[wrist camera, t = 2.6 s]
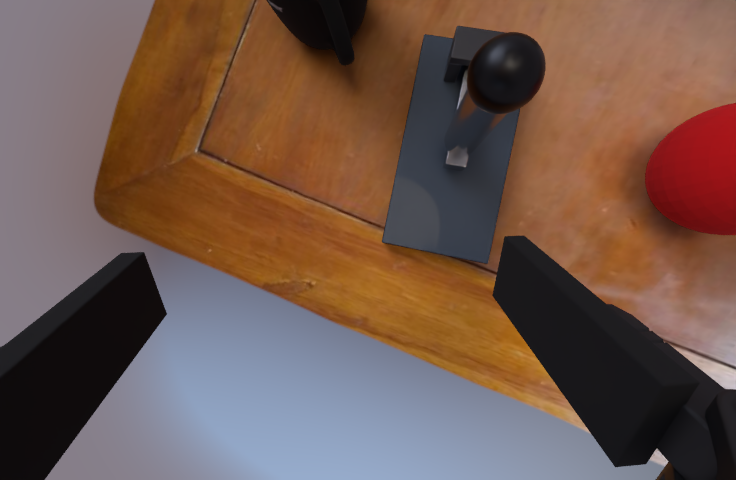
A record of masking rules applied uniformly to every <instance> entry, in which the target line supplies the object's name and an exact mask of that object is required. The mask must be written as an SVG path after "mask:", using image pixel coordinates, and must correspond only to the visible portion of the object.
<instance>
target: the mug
mask: <svg viewBox="0 0 736 480" xmlns="http://www.w3.org/2000/svg"><path fill="white" fill-rule="evenodd" d="M267 2H268V3H269V5H270V6H271V7H272V9H273V10H274V12H275V13H276V14H277V16H278V17H279V18H280V20H281V21H282V22H283V23H284V25H285V26H286V27H287V28H288V29H289V30H290V31H291V32H292V33H293V34H294V35H295V36H296V37H297V38H298V39H299V40H300V41H302V42H303V43H305V44H307V45H309V46H311V47H314V48H317V49H334V51H335V53H336V55H337V58H338V60H339V62H340V64H341V65H349V64H351V63H352V62H353V61H354V51H353V46H352V43H351V38H352V37H353V36H354V35H355V33H356V32H357V30H358V29H359V27H360V25H361V23H362V20H363V17H364V14H365V10H366V4H367V0H267Z"/></svg>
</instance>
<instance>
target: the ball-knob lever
mask: <svg viewBox="0 0 736 480" xmlns="http://www.w3.org/2000/svg"><path fill="white" fill-rule="evenodd" d="M544 75H545V57H544V53H543V51H542V49H541V47H540V46H539V44H538V43H537V42H536V41H535V40H534V39H533V38H531V37H530V36H528V35H526V34H523V33H517V32H509V33H503V34H500V35H498V36H495V37H493V38H492V39H490V40H488V41H487V42H486V43H485V44H483V45H482V46H481V47H480V48H479V50H478V51H477V52H476V53H475V55H474V57H473V58H472V60H471V62H470V65H469V66H465V65H464V67H463V71H462V76H461V81H460V86H459V91H458V96H457V101H456V105H455V110H454V115H453V119H452V121H451V123H450V125H449V127H448V129H447V132H446V134H445V137H444V143H445V146H446V148H447V149H446V154H445V159H444V164H443V168H445V169H450V170H456V171H463V170H464V169H465V168H466V166H467V161H468V156H469V154H471V153H472V152H473V151H474V150H475V149H476V148H477V147H478V146H479V145H480V144H481V142H482V141H483V140H484V139H485V138H486V137H487V136H488V135H489V133H490V132H491V131H492V130H493V129H494V128H495V127H496V126H497V124H498V123H499V122H500V121H501V120H502V119H503V118H504V117H505V116H506V114H507V113H510V112H513V111H515V110H517V109H519V108H521V107H523V106H524V105H525V104H527V103H528V102H529V101H530V100H531V99H532V98H533V97H534V95H535V94H536V93H537V92H538V90H539V88H540V86H541V84H542V82H543V79H544Z"/></svg>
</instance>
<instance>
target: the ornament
mask: <svg viewBox="0 0 736 480" xmlns="http://www.w3.org/2000/svg"><path fill="white" fill-rule="evenodd" d="M645 184H646V189H647V193H648V195H649V197H650V200H651V201H652V203H653V204H654V206H655V207H656V208H657V209H658V210H659V211H660V212H661V213H662V214H663V215H664V216H666V217H667V218H668V219H670V220H672V221H673V222H675V223H676V224H678V225H681V226H683V227H686V228H688V229H692V230H695V231H698V232H703V233H709V234H718V235H736V103H733V104H728V105H724V106H720V107H717V108H714V109H711V110H708V111H706V112H703V113H701V114H699V115H696V116H695V117H693V118H691V119H689V120H687V121H685V122H684V123H682V124H681V125H679V126H678V127H676V128H675V129H674V130H673V131H672V132H670V133H669V134H668V135H667V136H666V137H665V138H664V139H663V140H662V141H661V142H660V143H659V145H658V146H657V148H656V149H655V150H654V152H653V154H652V155H651V157H650V160H649V162H648V164H647V168H646V173H645Z"/></svg>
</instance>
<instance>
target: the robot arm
mask: <svg viewBox="0 0 736 480" xmlns="http://www.w3.org/2000/svg"><path fill="white" fill-rule="evenodd" d="M493 297H494V298H495V300H496V301H497V303H498V304H499V305H500V307H501V308H502V310H503V311H504V312H505V314H506V315H507V317H508V318H509V319H510V321H511V322H512V324H513V325H514V326H515V328H516V329H517V331H518V332H519V333H520V335H521V336H522V337H523V339H524V340H525V342H526V343H527V344H528V346H529V347H530V349H531V350H532V351H533V353H534V354H535V356H536V357H537V358H538V360H539V361H540V363H541V364H542V365H543V367H544V368H545V370H546V371H547V372H548V374H549V375H550V377H551V378H552V379H553V381H554V382H555V384H556V385H557V386H558V388H559V389H560V391H561V392H562V393H563V395H564V396H565V398H566V399H567V400H568V402H569V403H570V405H571V406H572V407H573V409H574V410H575V412H576V413H577V414H578V416H579V417H580V419H581V420H582V421H583V423H584V424H585V425H586V427H587V428H588V430H589V431H590V432H591V434H592V435H593V437H594V438H595V439H596V441H597V442H598V444H599V445H600V446H601V448H602V449H603V451H604V452H605V453H606V455H607V456H608V458H609V459H610V460H611V462H612V463H613V465H614V466H615V467H621V466H631V465H641V464H646V463H647V462H648V460H649V459H650V457H651V456H652V454H653V453H654V451H655V450H656V448H657V449H658V450H659V451H660V452H661V453H662V454H663V455H664V457H665V458H666V459H667V460H668V461H669V462H668V463H667V465H666V466H665V468H664V469H663V470H662V472H661V473H660V475H659V476H658V477H657V479H656V480H736V390H733V389H724V388H723V387H722V386H720V385H719V384H718V383H717V382H715V381H714V380H713V379H712V378H710V377H709V376H708V375H707V374H705V373H704V372H703V371H702V370H700V369H699V368H698V367H697V366H695V365H694V364H693V363H692V362H690V361H689V360H688V359H687V358H685V357H684V356H683V355H682V354H680V353H679V352H678V351H677V350H675V349H674V348H673V347H672V346H670V345H669V344H668V343H664V342H663V339H662V338H660V337H659V336H658V335H656V334H655V333H654V332H653V331H649V328H648V327H646V326H645V325H644V324H643V323H641V322H640V321H639V320H638V319H636V318H635V317H634V316H633V315H631V314H629V313H627V312H625V311H623V310H622V309H620V308H618V307H616V306H614V305H612V304H605V303H604V302H603V301H602V300H601V299H599V298H598V297H597V296H596V295H595V294H593V293H592V292H591V291H590V290H589V289H587V288H586V287H585V286H584V285H583V284H581V283H580V282H579V281H578V280H577V279H575V278H574V277H573V276H572V275H571V274H569V273H568V272H567V271H566V270H565V269H563V268H562V267H561V266H560V265H559V264H557V263H556V262H555V261H554V260H553V259H551V258H550V257H549V256H548V255H547V254H545V253H544V252H543V251H542V250H541V249H539V248H538V247H537V246H536V245H535V244H533V243H532V242H531V241H530V240H529V239H527V238H526V237H525V236H505V238H504V242H503V247H502V252H501V257H500V262H499V267H498V271H497V276H496V281H495V286H494V291H493ZM166 315H167V313H166V310H165V308H164V305H163V303H162V300H161V297H160V294H159V291H158V289H157V286H156V283H155V281H154V278H153V275H152V272H151V270H150V267H149V264H148V262H147V259H146V256H145V254H144V252H137V253H121V254H120V255H118V256H117V257H116V258H114V259H113V260H112V261H111V262H110V263H108V264H107V265H106V266H104V267H103V268H102V269H101V270H99V271H98V272H97V273H96V274H94V275H93V276H92V277H90V278H89V279H88V280H87V281H85V282H84V283H83V284H82V285H80V286H79V287H78V288H77V289H75V290H74V291H73V292H71V293H70V294H69V295H68V296H66V297H65V298H64V299H63V300H61V301H60V302H59V303H57V304H56V305H55V306H54V307H52V308H51V309H50V310H49V311H47V312H46V313H45V314H44V315H42V316H41V317H40V318H39V319H37V320H36V321H35V322H33V323H32V324H31V325H30V326H28V327H27V328H26V329H25V330H24V331H22V332H21V333H20V334H18V335H17V336H16V337H14V338H13V339H12V340H11V341H9V342H8V343H7V344H5V345H4V346H2V347H0V480H45V478H46V477H47V476H48V474H49V473H50V472H51V470H52V469H53V467H54V466H55V465H56V463H57V462H58V461H59V459H60V458H61V457H62V455H63V453H65V451H66V450H67V449H68V447H69V446H70V444H71V443H72V442H73V440H74V439H75V438H76V436H77V435H78V434H79V432H80V431H81V429H82V428H83V427H84V425H85V424H86V423H87V421H88V420H89V419H90V417H91V416H92V415H93V413H94V412H95V411H96V409H97V408H98V407H99V405H100V404H101V403H102V401H103V400H104V398H105V397H106V395H107V394H108V393H109V392H110V390H111V389H112V388H113V386H114V385H115V383H116V382H117V381H118V380H119V378H120V377H121V375H122V374H123V373H124V371H125V370H126V369H127V367H128V366H129V365H130V363H131V362H132V361H133V359H134V358H135V356H136V355H137V354H138V352H139V351H140V350H141V348H142V347H143V345H144V344H145V343H146V342H147V340H148V339H149V338H150V336H151V335H152V333H153V332H154V331H155V329H156V328H157V327H158V325H159V324H160V323H161V321H162V320H163V319H164V317H165V316H166Z"/></svg>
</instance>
